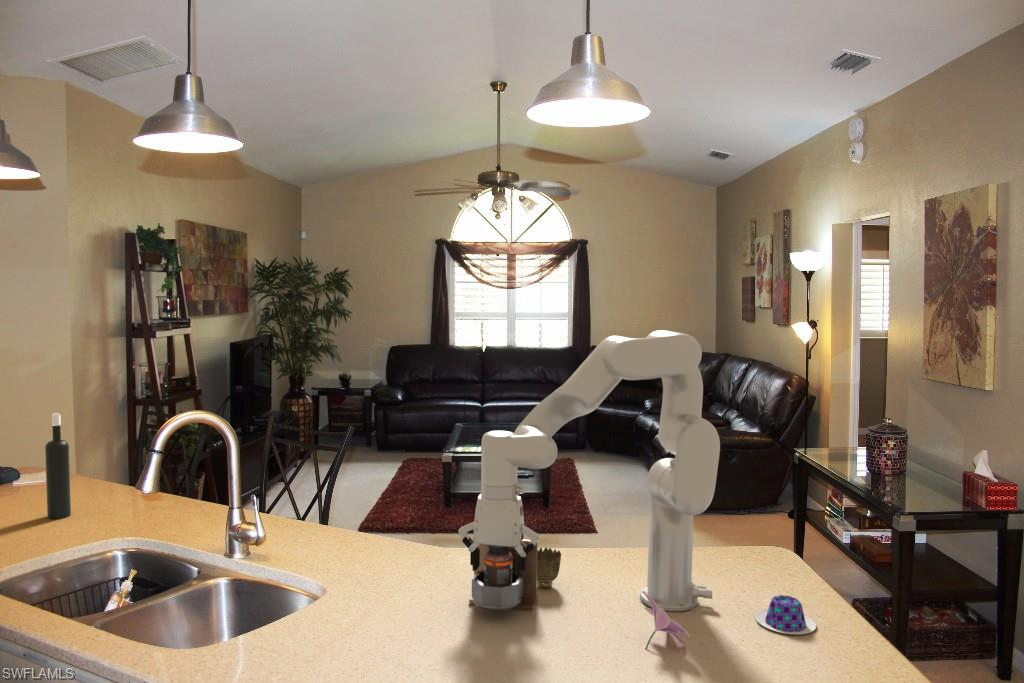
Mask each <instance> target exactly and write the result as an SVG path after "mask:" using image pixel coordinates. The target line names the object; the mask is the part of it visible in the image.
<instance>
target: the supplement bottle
mask: <svg viewBox="0 0 1024 683" xmlns="http://www.w3.org/2000/svg"><path fill="white" fill-rule="evenodd" d="M484 561H485V562H484V584H486V585H495V586H504V585H508V584H512V571H513V568H512V567H513V557H512V554H511V553H510V552H509V551H508V547H502V546H492V545H489V551H488V552H487V553H486V554H485V560H484Z"/></svg>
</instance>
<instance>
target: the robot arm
mask: <svg viewBox="0 0 1024 683" xmlns="http://www.w3.org/2000/svg"><path fill="white" fill-rule="evenodd" d="M702 354H703V351H702V347H701V345H700V343H699V342H698V340H697V339H696V338H695V337H693V336H692V335H689V334H688V333H683V332H677V331H671V330H665V329H659V330H654V331H651V333H648V335H647V336H646V337H642V338H640V337H638V338H637V337H635V338H634V337H626V336H623V335H622V336H621V335H611V336H608V337H605V339H603V340H601V341H600V343H599V344H598V345H597V346H596V347H595V348H594V350H592V351H591V353H590V354H589V355H588V356H587V357H586V359H585V360H584V361H583V362H582V363H581V364H580V365H579V366H578V368H577V369H576V370H575V371H573V373H572V374H571V376H569V378H568V379H567V380H566V381H565V382H564V383H563V384H562V385H561V386H559V387H558V388H557V389H555V390H554V391H552V393H550V394H549V395H547V396H546V397H545V398H544V399H543V400H541V401H540V402H539V403H538V404H537V405H536V406H534V408H533V409H532V410H531V411H530V412H529V413H528V414H527V415H526V416H525V418H524V419H523V420H522V421H521V422H520V423H519V424H518V426H517V427H516V428H515V430H514V432H513V431H510V430H509V431H508V430H490V431H487V432H485V433H484V434H483V435H482V438H481V455H480V456H481V460H480V462H481V466H480V467H481V468H480V469H481V471H480V472H481V473H480V474H481V475H480V479H481V481H480V494H478V496H477V501H476V505H475V512H474V521H472V522H470V523H468V524H465V525H463V526H461V527H460V528H459V529H458V530H457V531H458V534H459V537H460V538H461V540H462V541H461V542H462V543H463V544H464V546H465V547H467V550H468V551H469V552H470V553H469V554H470V555H469V556H470V558H469V559H470V560H469V561H470V563H469V564H470V566H472V569H471V570H472V572H474V571H476V570H477V569H478V567H479V566H480V549H479V548H478V546H479V544H483V545H492V546H502V547H514V548H515V549H516V550H517V552H518V553H519V556H518V562H517V575H519V576H521V575H522V573H523V571H524V570H526V555H527V554H528V553H529V552H530V551H531V550H532V549H533V548H534V546H535V545H536V543H537V541H538V542H539V540H540V537H541V535H540V534H539V533H537V532H535V531H534V530H532V529H531V528H529V527H528V526H526V525H525V521H524V520H525V517H524V507H523V501H522V498H521V497H522V496H520V495H521V494H524V493H525V487H523V486H520V485H519V482H518V468H521V469H522V468H525V469H531V470H540V469H542V470H543V469H546V468H549V467H550V466H551V465H553V464H554V463H555V461H556V460H557V458H558V453H559V452H558V447H557V443H556V442H555V440H554V439H553V438H552V437H553V436H554V435H555V434H556V432H558V431H559V430H560V429H561V428H562V427H563V426H564V425H566V424H568V422H570V421H572V420H573V419H576V418H579V417H583V416H585V415H588V414H590V413H592V412H594V411H596V409H598V407H599V406H600V405H601V403H603V401H604V400H605V399H606V398H607V397H608V396H609V395H610V393H611V392H612V391H613V390H614V389H615V387H616V386H618V385H619V383H620V382H621V381H622V380H626V381H640V380H641V381H643V380H653V379H660V378H661V381H662V403H661V408H660V409H661V411H660V417H659V425H658V440H659V443H660V445H661V447H662V448H663V449H665V450H667V452H669V453H670V454H673V455H674V458H673V457H665V458H661V459H659V460H656V461H655V462H654V463H653V465H652V466H651V467H650V469H649V470H648V473H647V474H648V475H647V478H646V485H647V486H646V489H647V497H648V507H649V508H648V509H649V521H648V522H649V524H648V525H649V526H648V548H647V549H648V552H647V554H648V555H647V576H646V577H647V579H646V580H647V582H646V583H647V584H646V586H644V587H643V588H641V589H640V591H639V599H640V601H642V603H643V604H645V605H646V606H648V607H649V608H650V607H651V608H652V606H651V604H650V602H649V600H648V599H647V597H646V596H645V594H644V593H643V591H644V592H645V593H646V594H647V595H648V596H650V597H651V598H652V599H653V600H654V601H655V603H656V604H657V605H658V607H659V608H662V609H663V610H664V611H665V612H685V611H689V610H692V609H694V608H696V607H697V605H698V602H699V600H698V599H699V598H703V599H711V600H712V599H713V589H710V588H707V585H702V584H701V585H697V584H696V583H694V582H693V579H694V578H693V577H692V574H693V573H692V571H693V568H692V567H693V544H694V542H693V541H694V516H697V515H701V514H702V513H704V512H705V511H706V510H707V509H708V507H710V505H711V503H712V502H713V501H712V500H713V499H714V496H715V492H716V491H715V490H716V484H717V477H718V476H717V475H718V468H719V461H720V452H721V442H720V436H719V433H718V431H717V429H716V427H715V426H714V425H713V424H712V423H711V422H710V421H709V420H707V419H705V418H702V417H703V416H702V411H703V410H702V409H703V398H704V397H703V396H704V384H703V383H704V382H703V381H704V380H703V377H702V373H701V370H700V368H699V366H700V365H699V364H700V363H701V361H702V357H703V356H702ZM470 531H473V539H472V538H471V537H470V536H469V535H468V532H470ZM525 536H526V537H528V538H529V540H531V541H530V543H529V544H528V545H527V546H526V545H525V544H524V543H523V541H522V540H523V539H525Z"/></svg>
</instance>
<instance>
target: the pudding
mask: <svg viewBox="0 0 1024 683" xmlns="http://www.w3.org/2000/svg"><path fill="white" fill-rule="evenodd" d="M754 616H755V617H754V618H755V620H756V621H757V623H758V624H759V625H761V626H763V627H764V628H766V629H768V630H772V631H774V632H777V633H781V634H787V635H805V634H810V633H812V632H814V631H815V630H816V629H817V624H816V622H815V621H814V619H812V618H811V617H809V616H807V615H806V614H805V613H804V608H803V605H802V603H801V602H800V600H799V599H798V598H796V597H792V596H791V595H785V594H784V595H783V594H779V595H775V596H773V597H772V598H770V603H769V605H768V608H765V609H760V610H759V611H757V612H756V614H755V615H754Z"/></svg>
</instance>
